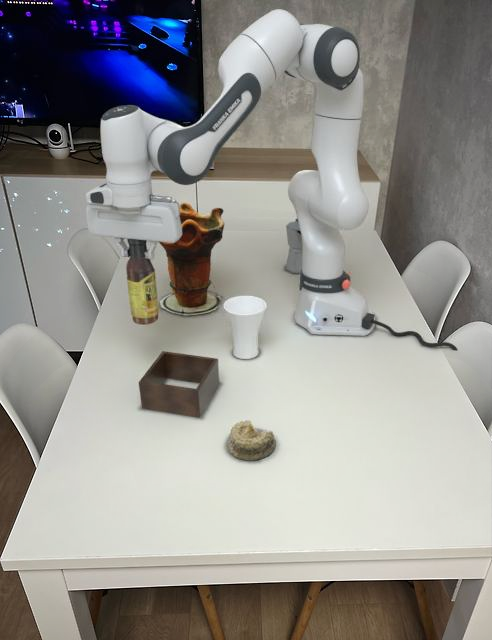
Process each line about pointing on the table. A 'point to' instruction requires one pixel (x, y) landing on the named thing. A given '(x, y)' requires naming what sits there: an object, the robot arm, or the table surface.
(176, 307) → the decorative vase
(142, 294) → the sauce bottle
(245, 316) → the cup
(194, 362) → the caddy
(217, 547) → the table surface
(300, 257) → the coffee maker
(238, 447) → the cake
